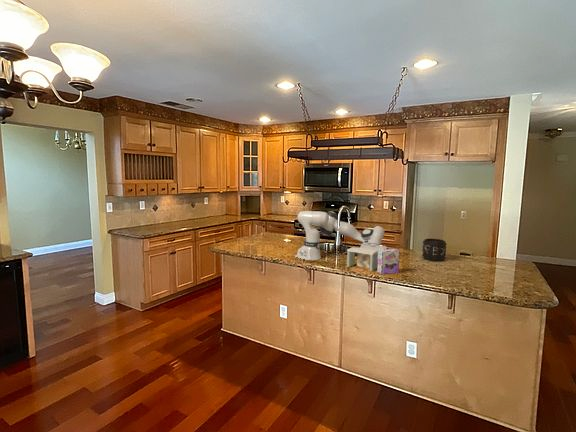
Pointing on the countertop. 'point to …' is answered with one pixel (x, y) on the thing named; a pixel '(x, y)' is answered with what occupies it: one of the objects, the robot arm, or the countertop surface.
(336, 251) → the countertop surface
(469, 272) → the countertop surface
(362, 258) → the birch block
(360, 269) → the trap pit
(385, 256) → the candy box
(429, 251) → the lettered black canister
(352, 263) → the tunnel
